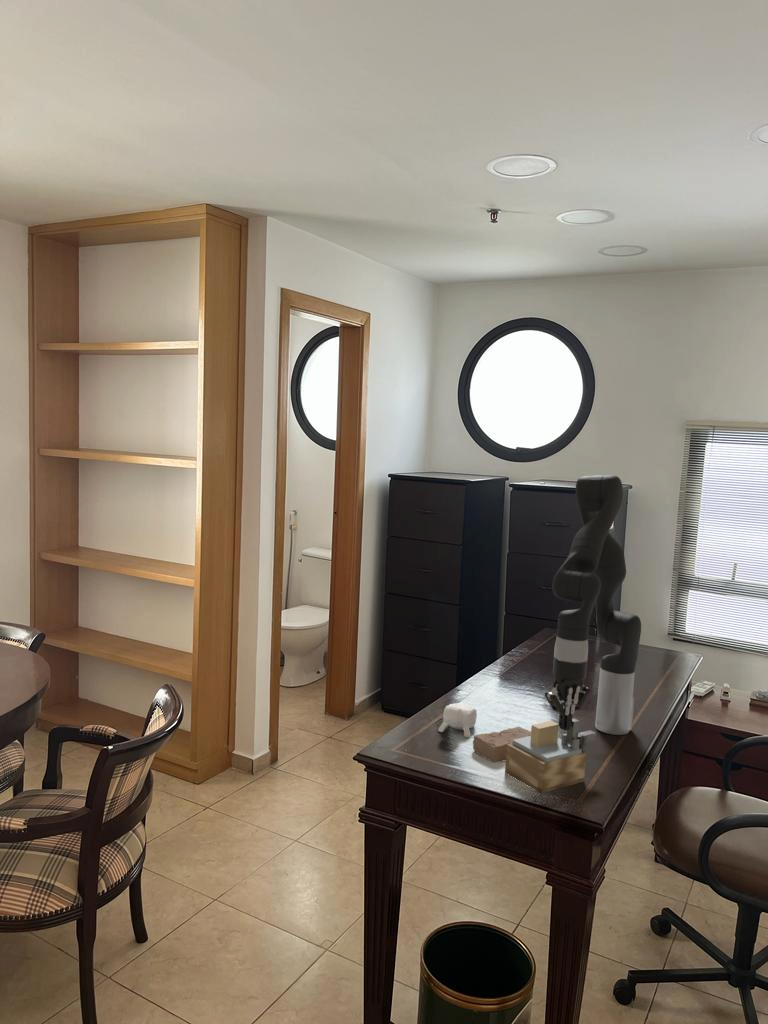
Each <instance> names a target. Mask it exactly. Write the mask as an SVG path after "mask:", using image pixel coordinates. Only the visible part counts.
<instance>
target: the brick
mask: <svg viewBox="0 0 768 1024" xmlns="http://www.w3.org/2000/svg"><path fill="white" fill-rule="evenodd" d="M528 736H531V730H529V729H526V728H523V727H521V726H515V727H511V728H509V727H508V728H507V729H503V730H500V731H492V732H489V733H479V734H474V735H473V741H472V748H473V750H474V751H475V753H477V755H479V756H482V757H484V759H486V758H487V760H489V761H491V762H492V761H493V763H497V762H498V763H499V762H503V760H504V761H506V753H507V744H512V742H513V740H515V739H519V738H523V737H528Z"/></svg>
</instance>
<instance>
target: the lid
mask: <svg viewBox="0 0 768 1024" xmlns="http://www.w3.org/2000/svg"><path fill="white" fill-rule="evenodd" d="M559 730H560V727H559V723H557V722H555V721H552V720H548V721H544V722H540V723H534V724H531V730H530V731H531V736H528V737H523V738H519V739H515V740H513V742H512V744H513V745H515V746H517V747H518V748H520V749H522V750H524V751H526V752H527V753H529V754H531V755H533V756H535V757H537V758H539V759H541V760H542V761H545V762H550V761H554V760H558V759H562V758H566V757H570V756H573V755H577V754H581V753H582V749H580V748H579V741H580V740H579V739H574V740H573V744H572V746H571V745H569V744H567V743H566V739H567V733H563V734H561V738H559Z"/></svg>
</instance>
